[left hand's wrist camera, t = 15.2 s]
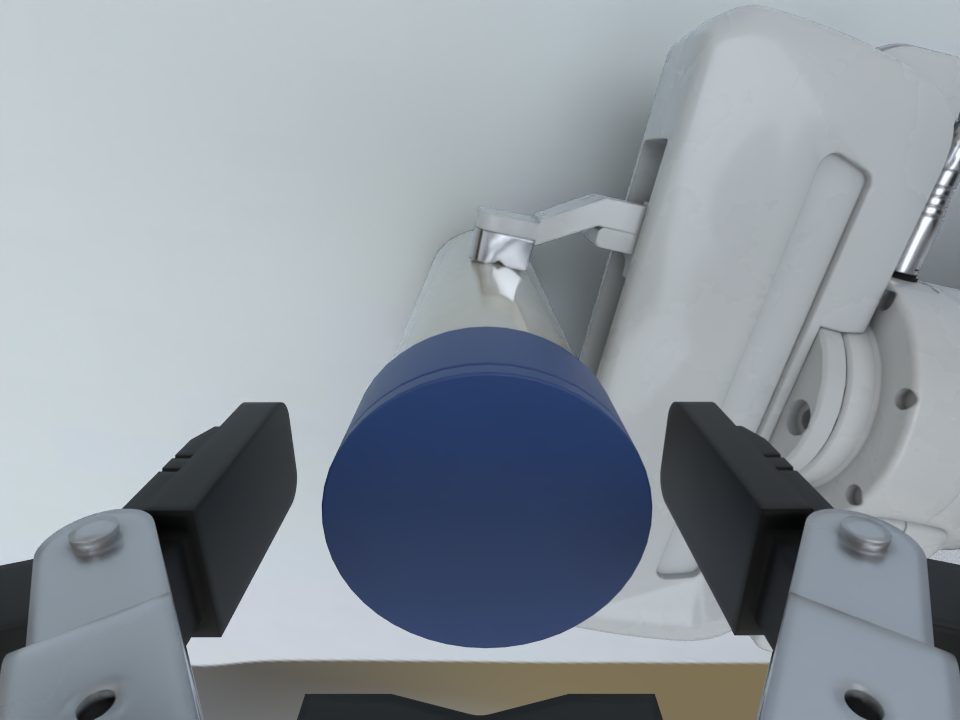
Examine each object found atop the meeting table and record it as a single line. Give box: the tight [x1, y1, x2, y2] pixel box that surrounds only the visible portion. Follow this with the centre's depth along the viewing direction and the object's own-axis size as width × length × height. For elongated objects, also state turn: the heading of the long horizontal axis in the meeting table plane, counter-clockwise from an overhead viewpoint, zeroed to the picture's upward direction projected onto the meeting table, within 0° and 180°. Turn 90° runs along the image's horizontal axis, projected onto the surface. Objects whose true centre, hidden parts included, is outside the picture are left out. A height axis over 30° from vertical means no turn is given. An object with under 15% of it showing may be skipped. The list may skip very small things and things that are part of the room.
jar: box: [393, 230, 573, 359], centre depth 17 cm, size 5×5×16 cm
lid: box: [322, 326, 653, 648], centre depth 10 cm, size 5×5×2 cm
